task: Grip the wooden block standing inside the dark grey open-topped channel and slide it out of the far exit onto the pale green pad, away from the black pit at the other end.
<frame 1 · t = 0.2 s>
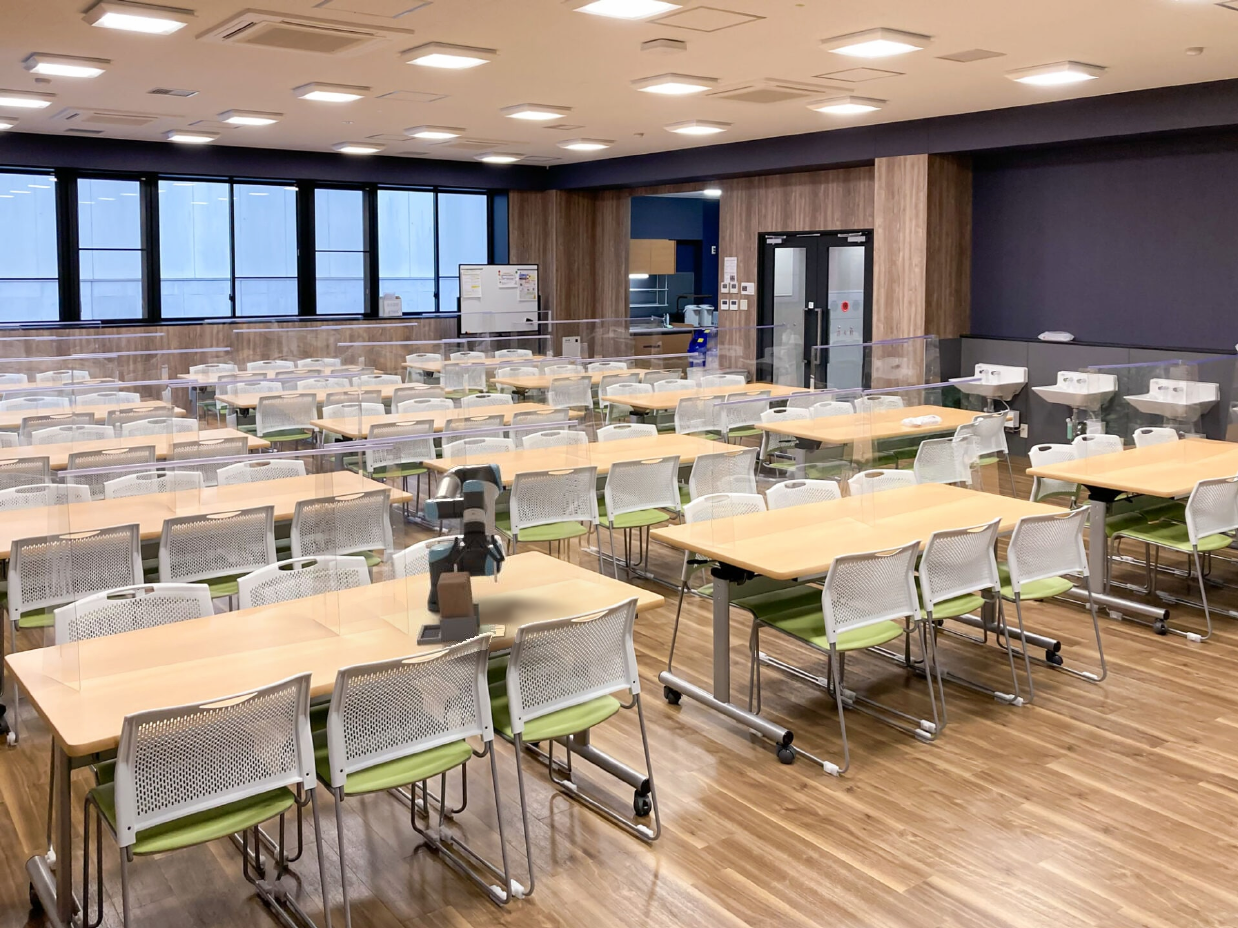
hand: (475, 582, 399), 16 cm above the table, tool tilted 30°, fingers open, 13 cm apart
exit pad: (492, 631, 398), on the table
channel: (461, 633, 397), on the table
wooden block: (459, 631, 398), point 1 cm above the table
pit trap: (431, 635, 397), on the table
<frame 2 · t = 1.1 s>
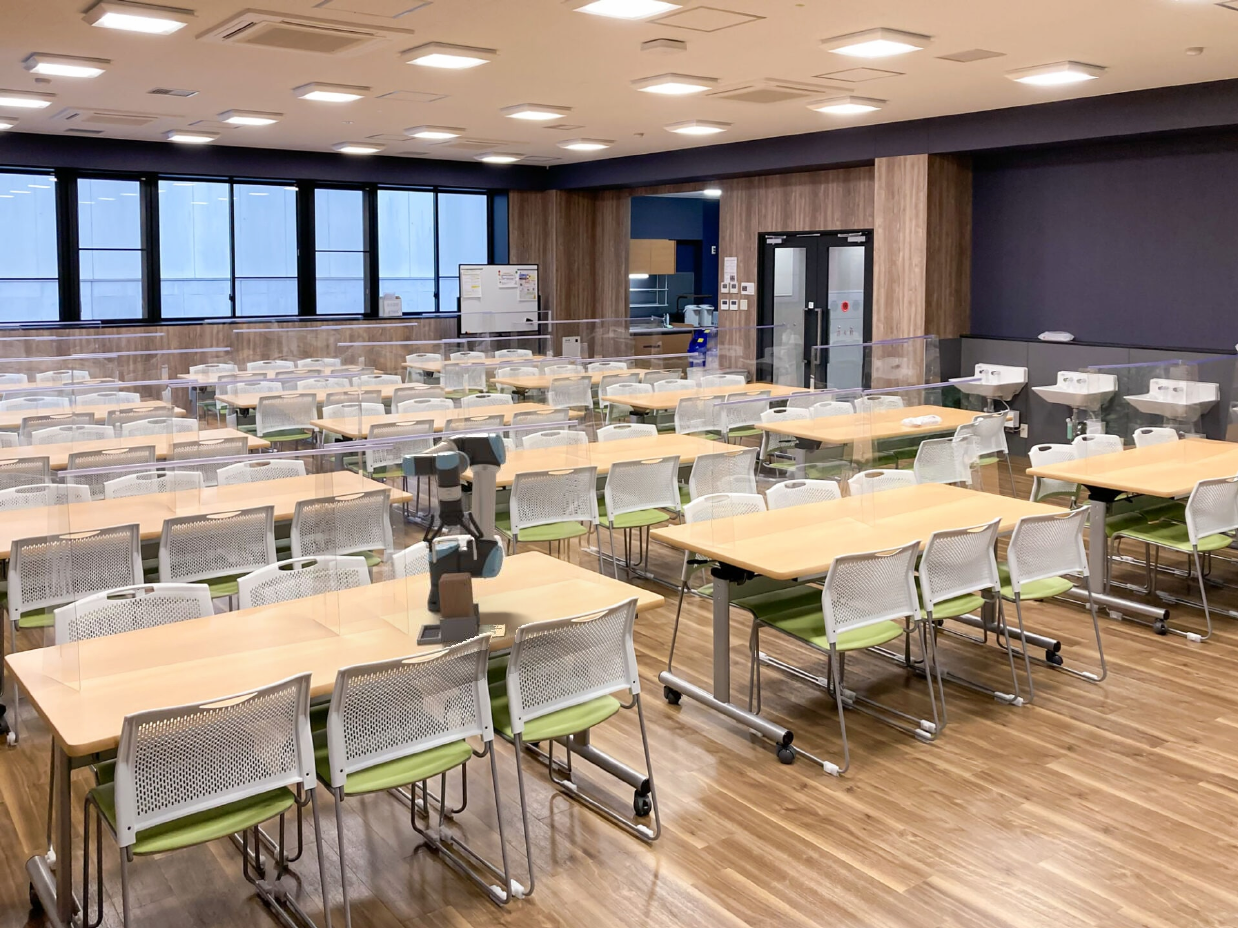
hand: (455, 560, 392), 26 cm above the table, tool pointing down, fingers open, 13 cm apart
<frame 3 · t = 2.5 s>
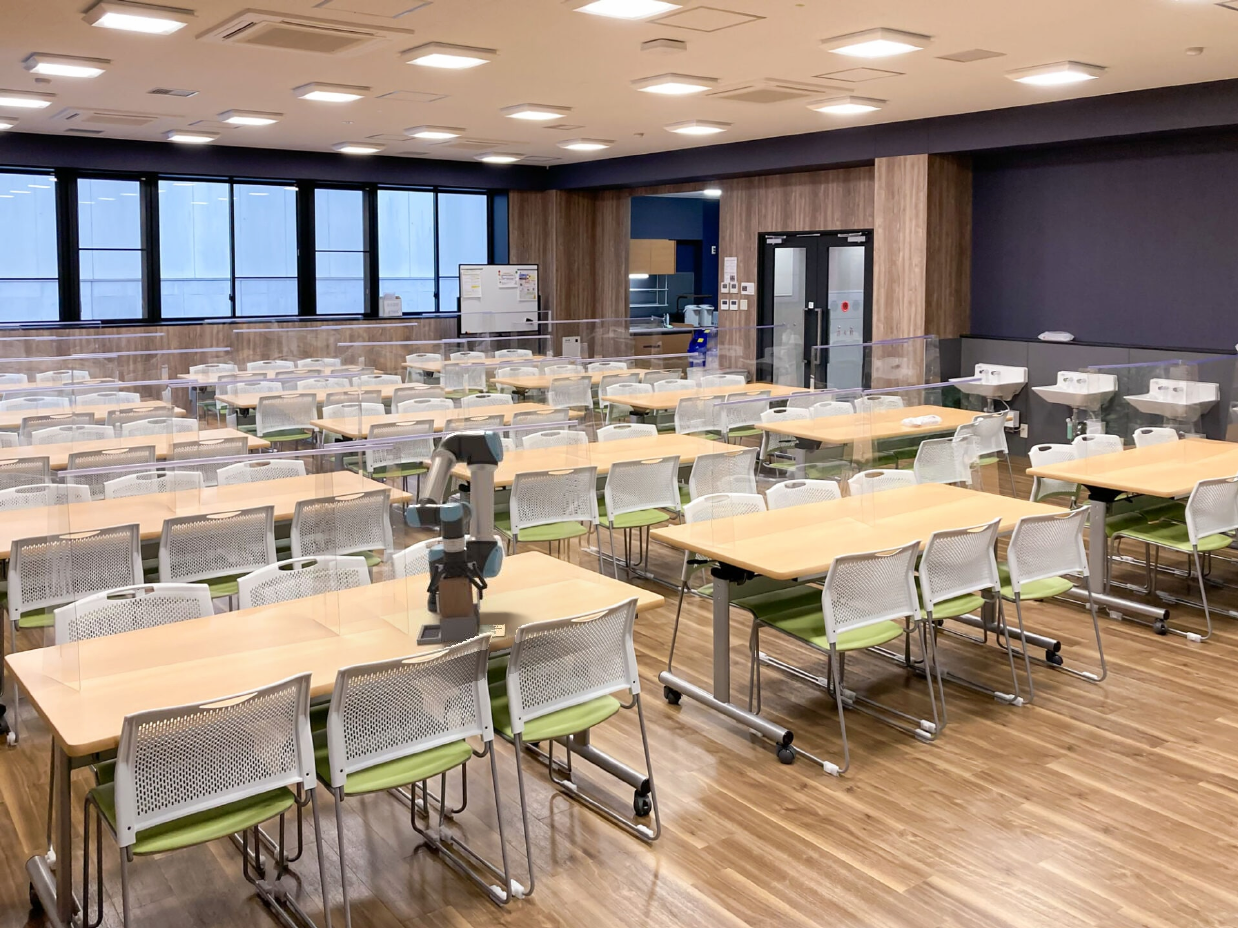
hand: (459, 610, 395), 8 cm above the table, tool pointing down, fingers open, 13 cm apart
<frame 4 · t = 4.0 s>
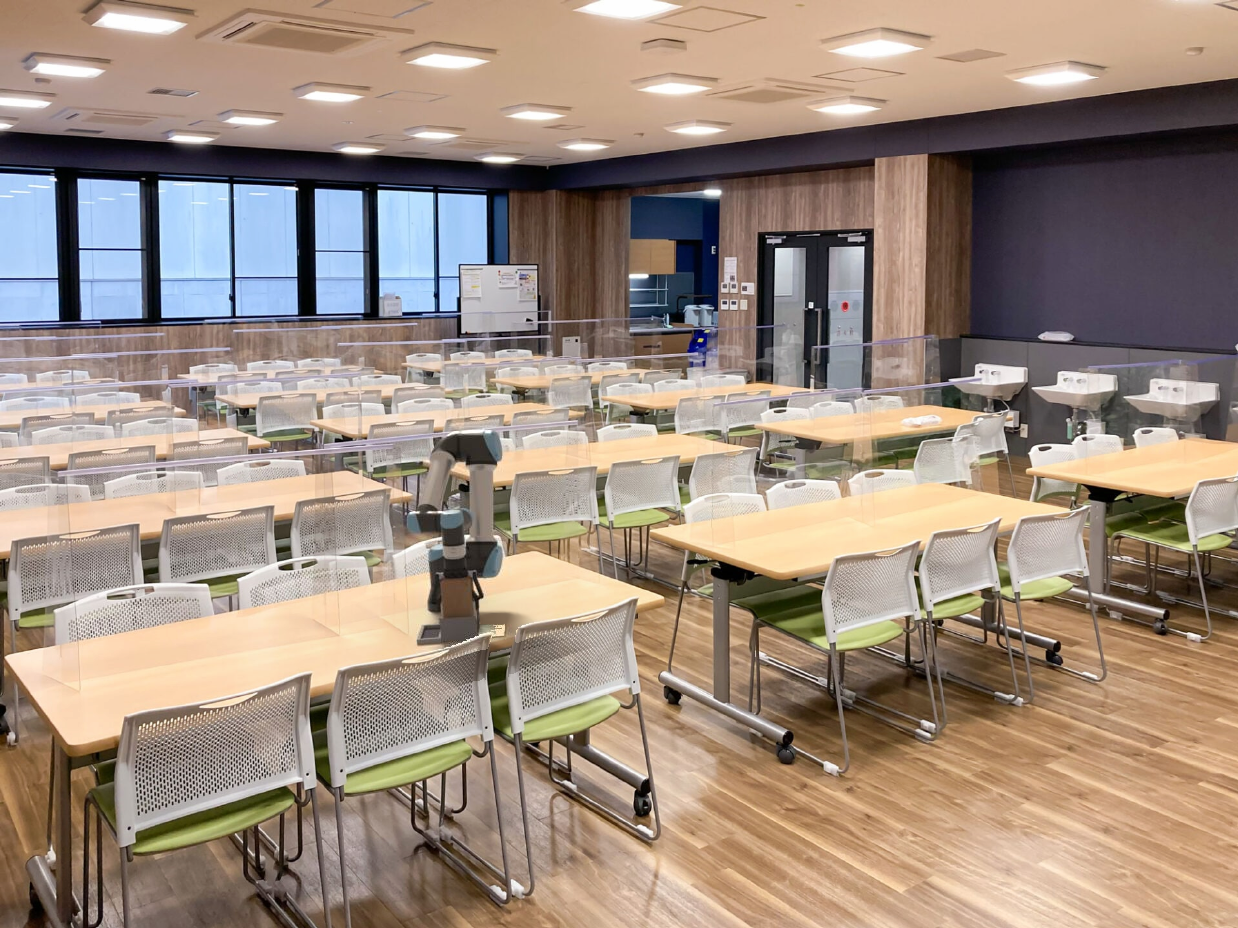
hand: (459, 619, 396), 5 cm above the table, tool pointing down, fingers closed on wooden block, 10 cm apart
wooden block: (460, 633, 398), resting in channel, touching gripper
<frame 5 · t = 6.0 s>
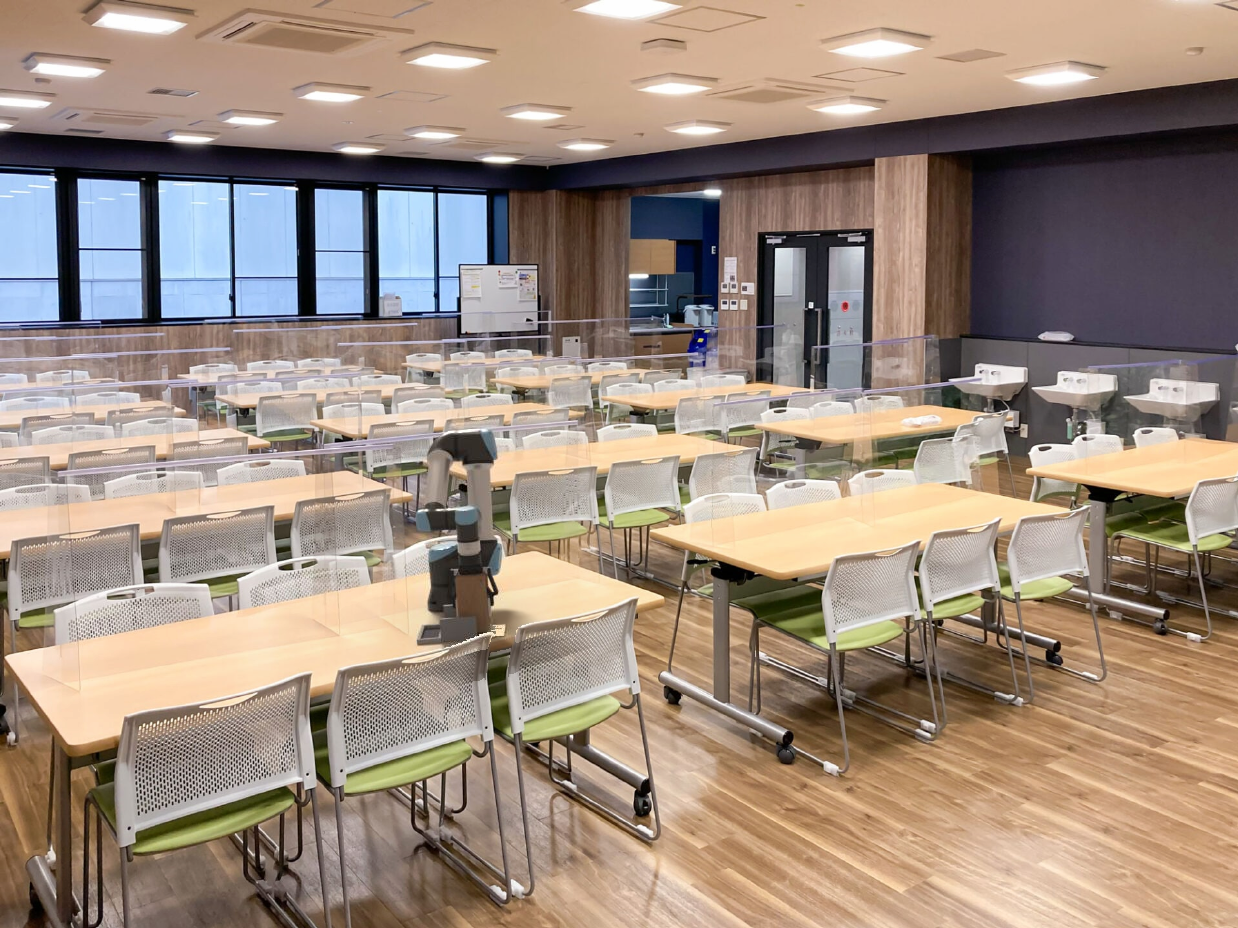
hand: (474, 616, 396), 6 cm above the table, tool pointing down, fingers closed on wooden block, 10 cm apart
wooden block: (475, 629, 398), point 1 cm above the table, touching gripper
when the fingers open (6 cm above the table, at t = 8.1 s): wooden block stays where it is, resting on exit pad.
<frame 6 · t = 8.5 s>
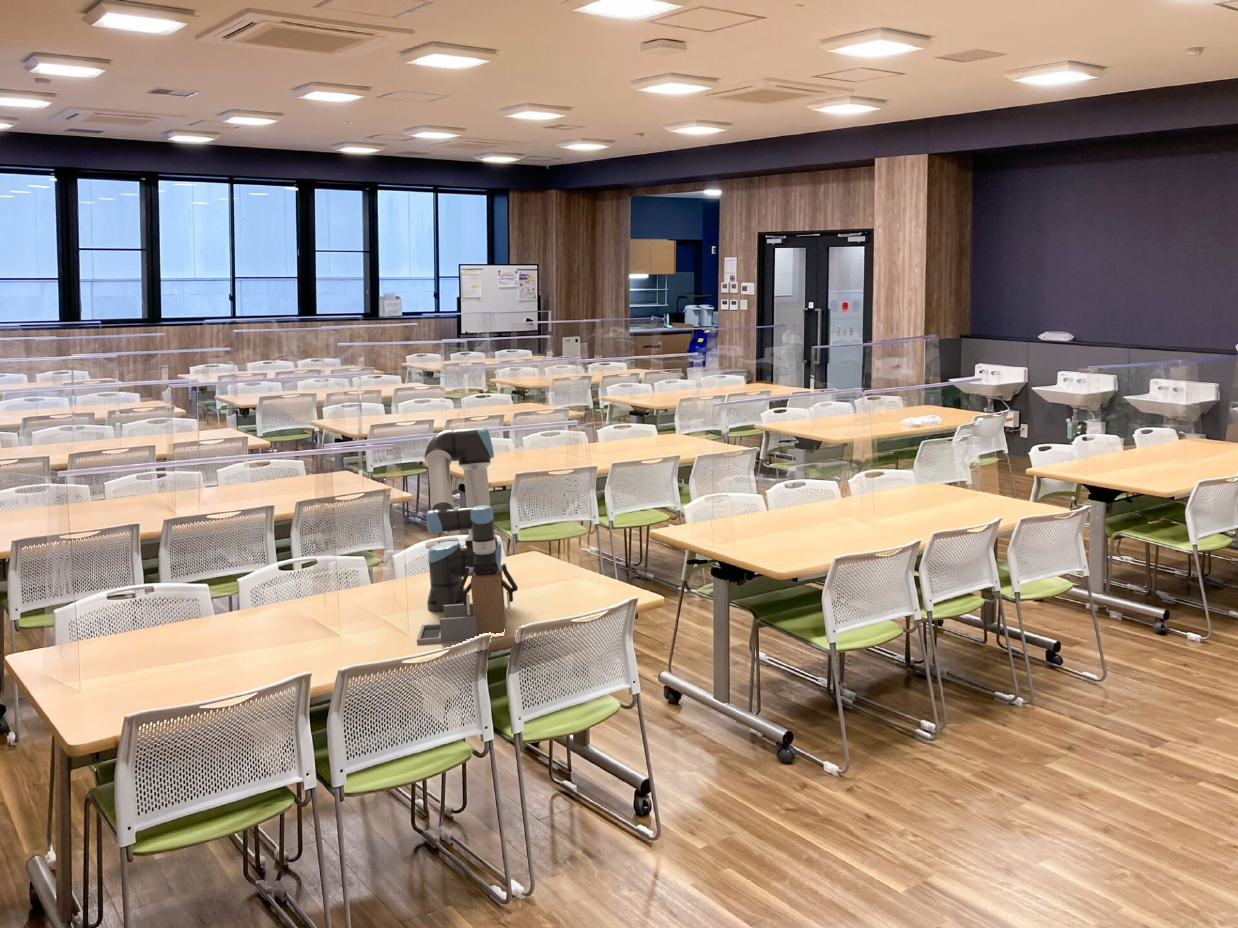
hand: (489, 612, 396), 7 cm above the table, tool pointing down, fingers open, 13 cm apart
wooden block: (490, 630, 399), resting on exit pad
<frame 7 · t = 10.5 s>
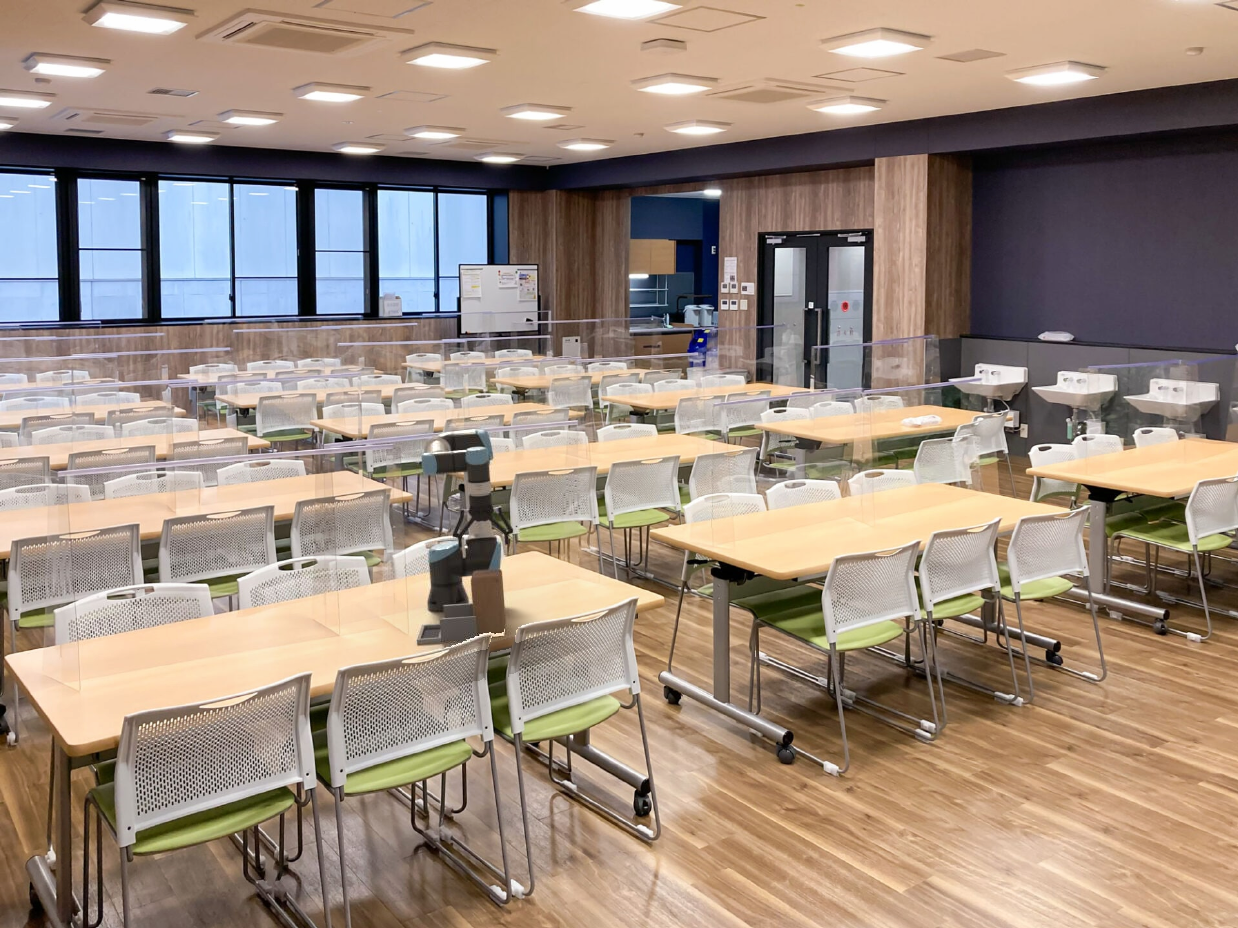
hand: (484, 555, 393), 27 cm above the table, tool pointing down, fingers open, 13 cm apart
nothing on the table moved.
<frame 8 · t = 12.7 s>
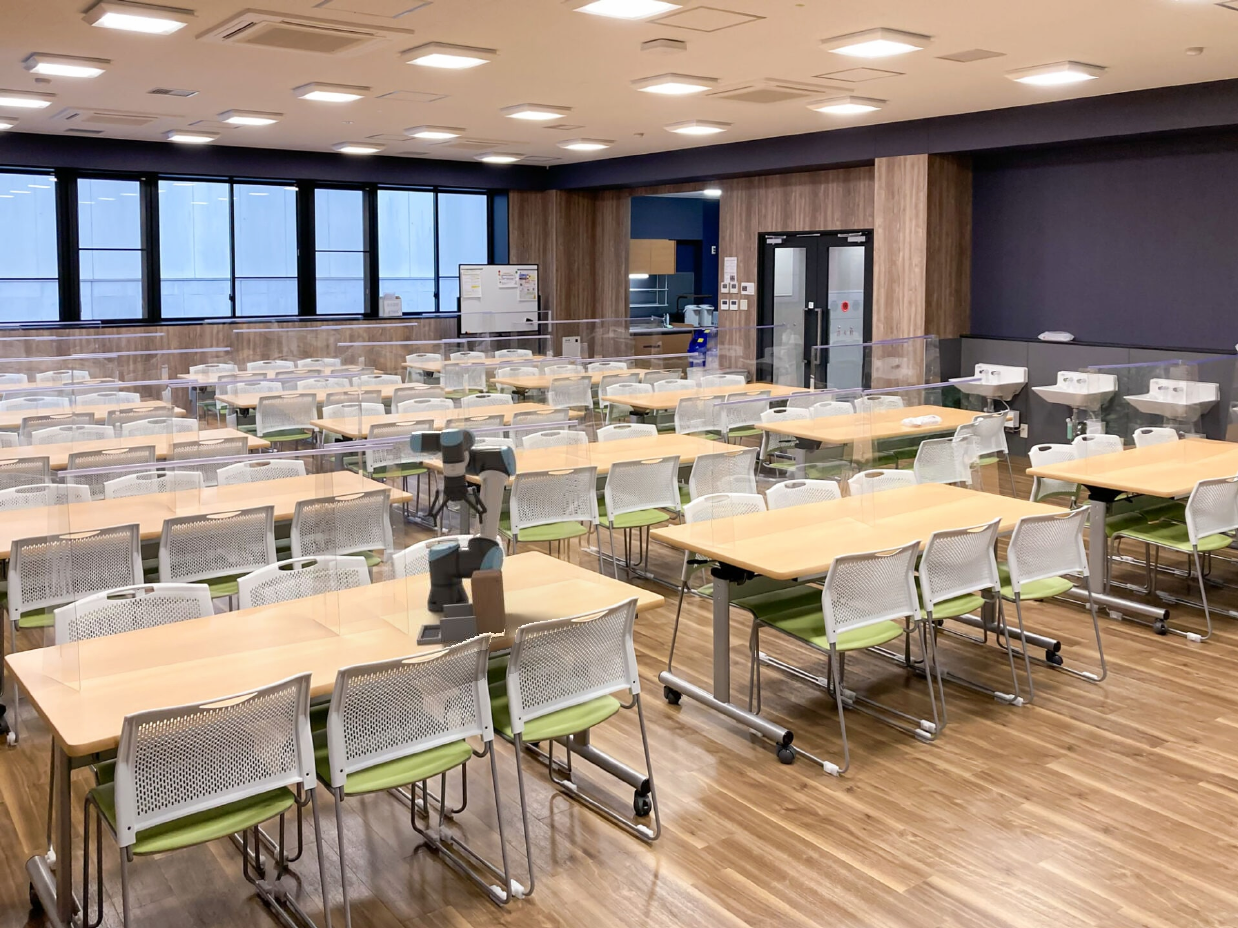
hand: (459, 534, 403), 32 cm above the table, tool pointing down, fingers open, 13 cm apart
nothing on the table moved.
at the end: wooden block 1.0 cm from the target spot, resting on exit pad; wooden block tilted 0°; the gripper is holding nothing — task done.
